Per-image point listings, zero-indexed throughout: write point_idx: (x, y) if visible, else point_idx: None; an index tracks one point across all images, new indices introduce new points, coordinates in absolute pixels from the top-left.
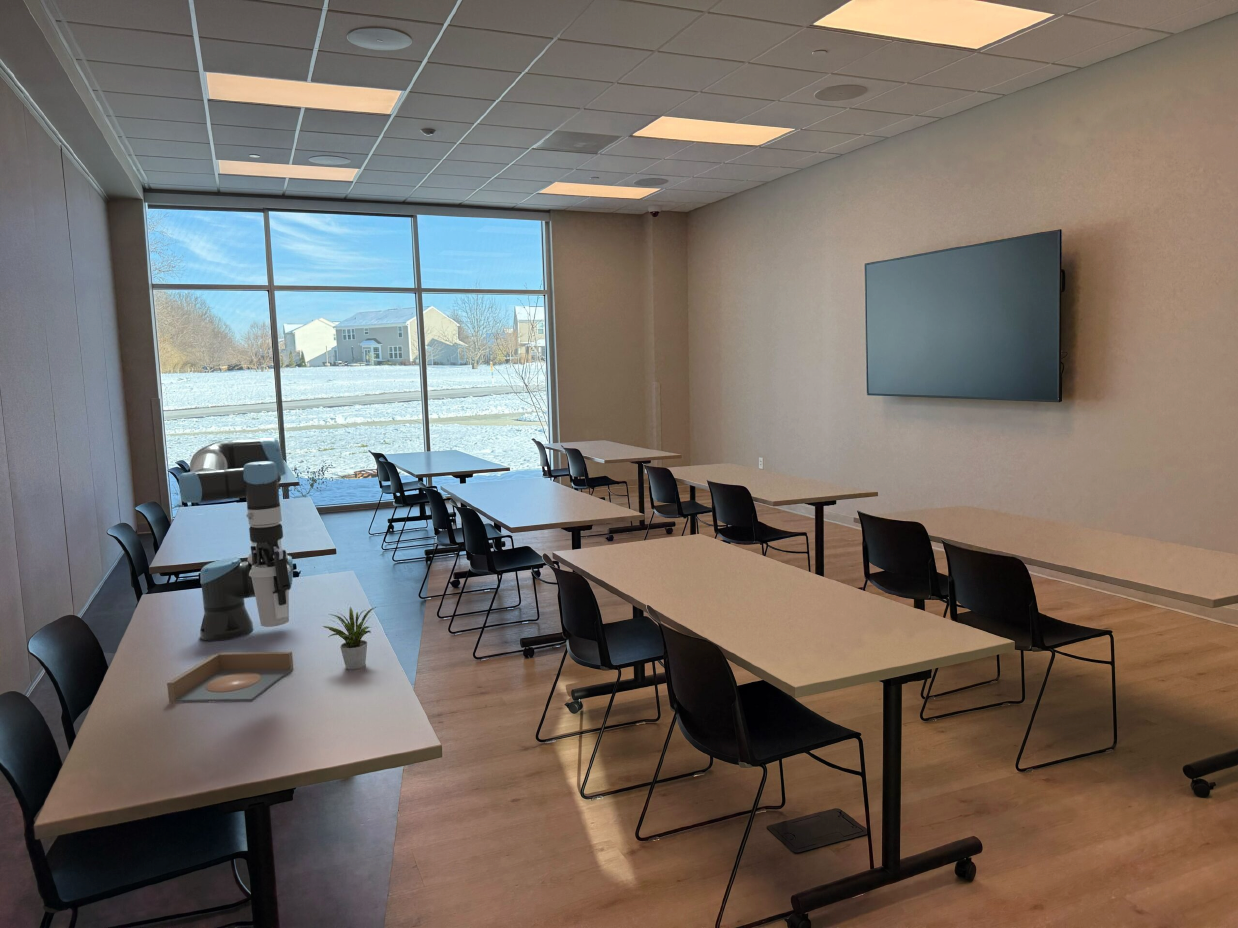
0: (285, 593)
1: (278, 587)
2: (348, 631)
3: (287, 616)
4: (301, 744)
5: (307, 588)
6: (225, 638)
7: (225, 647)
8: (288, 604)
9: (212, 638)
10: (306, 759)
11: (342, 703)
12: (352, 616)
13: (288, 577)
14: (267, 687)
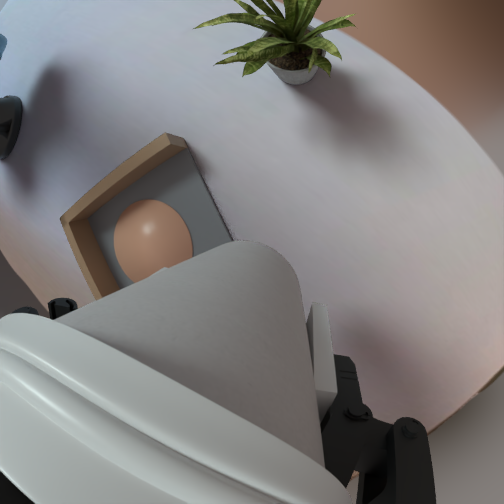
0: (361, 401)
1: (361, 478)
2: (302, 43)
3: (296, 280)
4: (456, 355)
5: (9, 15)
6: (15, 139)
7: (29, 153)
8: (287, 284)
9: (7, 152)
10: (477, 371)
11: (431, 228)
12: (292, 5)
13: (433, 493)
14: (229, 235)
